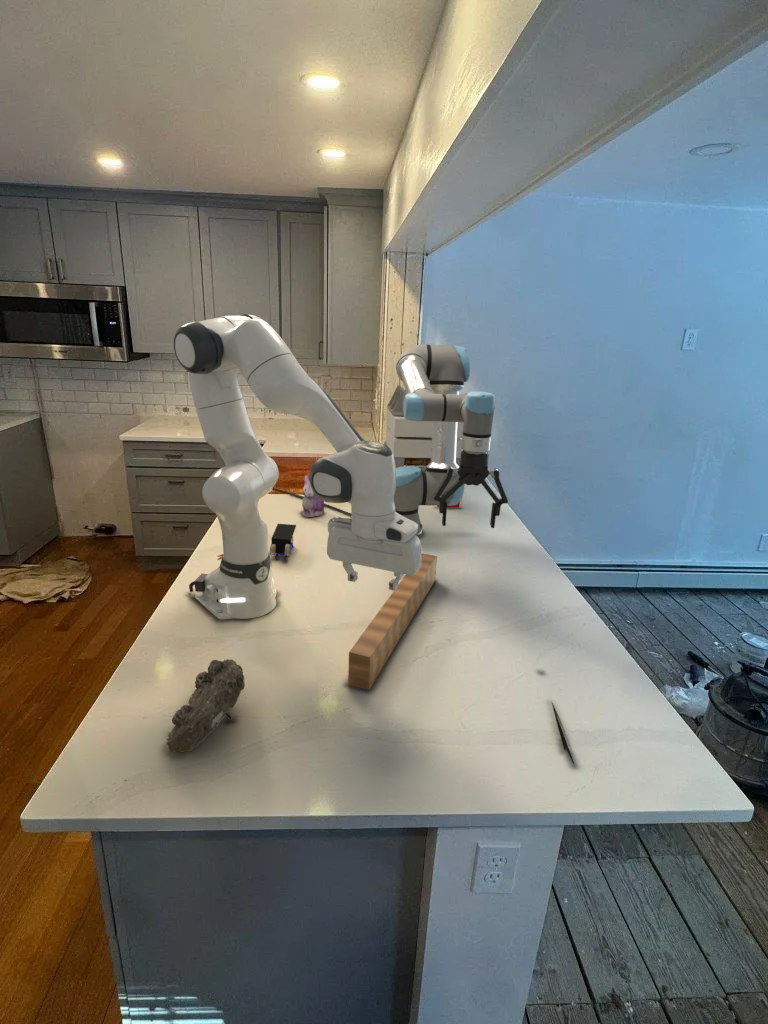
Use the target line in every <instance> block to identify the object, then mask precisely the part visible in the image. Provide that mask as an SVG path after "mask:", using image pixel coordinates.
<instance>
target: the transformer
mask: <svg viewBox="0 0 768 1024" xmlns="http://www.w3.org/2000/svg"><path fill="white" fill-rule="evenodd" d="M406 394H407V393H406V390H405V388H403V387H402V385H399V384H398V385H397V386H396V388H395V390H394V392H393V394H392V395H391V398H390V400H389V402H388V404H387V405H386V413H385V414H386V415H385V423H386V428H385V438H384V442H383V444H385V445H386V446H388V447H389V448H390V449H391V450H392V452H393V455H394V458H395V465H396V468H398V467H403V466H412V467H427V465H428V464H429V463H430V462H431V448H432V422H433V421H418V422H417V421H411V420H406V419H405V417H404V410H403V409H404V398H405V395H406ZM463 425H464V422H458V425H457V447H456V464H457V465H458V466H460V457H461V451H462V450H463V449H462V448H461V446H462V436H463Z"/></svg>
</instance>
